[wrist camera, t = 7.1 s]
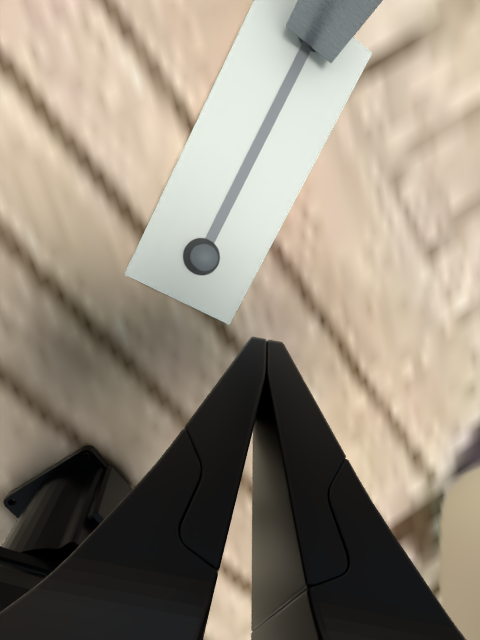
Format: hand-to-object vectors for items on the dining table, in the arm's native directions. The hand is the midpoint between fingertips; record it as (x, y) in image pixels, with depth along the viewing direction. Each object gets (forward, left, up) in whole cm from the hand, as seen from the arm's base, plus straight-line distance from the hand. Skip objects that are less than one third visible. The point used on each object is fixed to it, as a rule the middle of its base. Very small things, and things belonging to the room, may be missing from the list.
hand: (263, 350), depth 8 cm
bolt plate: (+6, +6, -13) cm, 15 cm away
